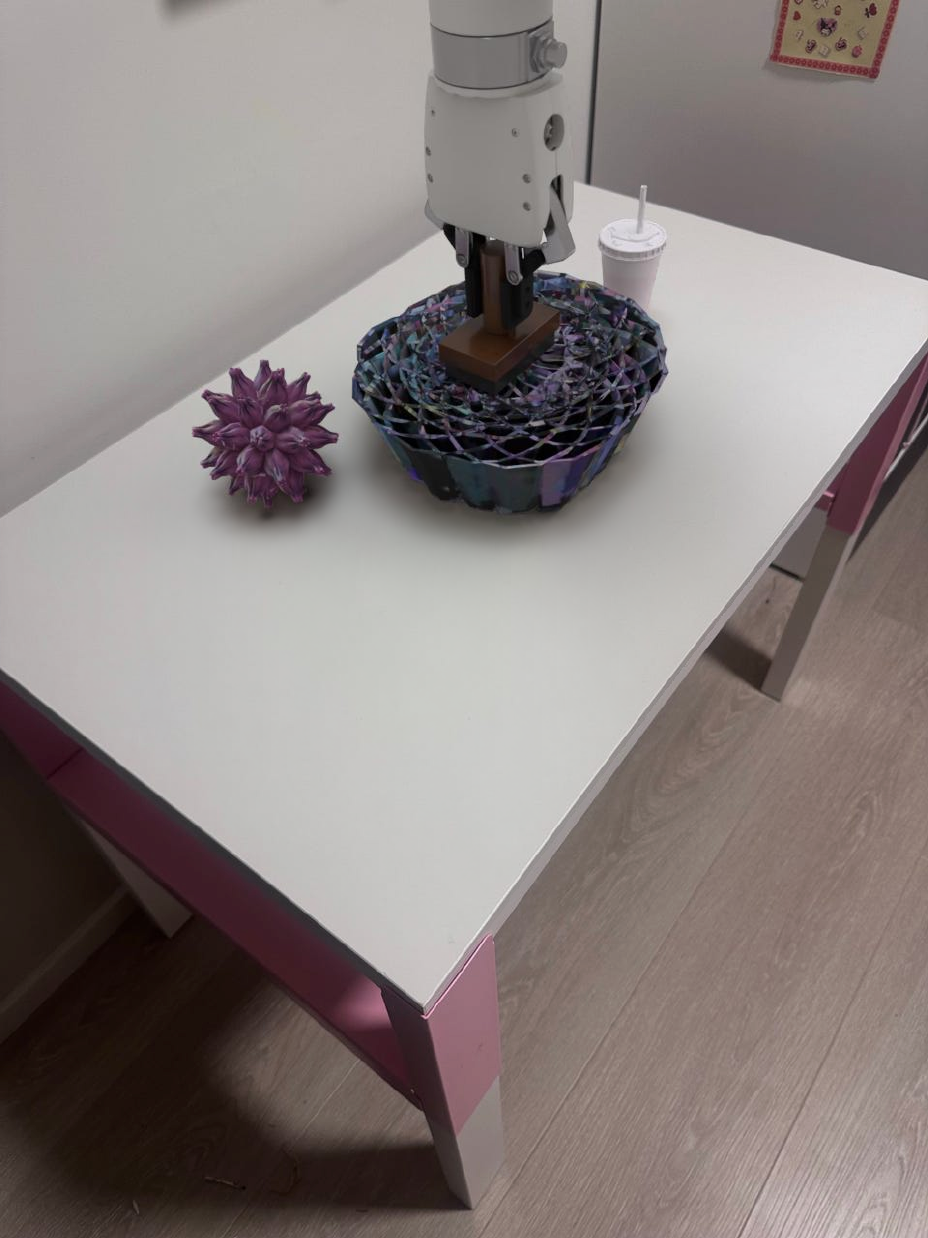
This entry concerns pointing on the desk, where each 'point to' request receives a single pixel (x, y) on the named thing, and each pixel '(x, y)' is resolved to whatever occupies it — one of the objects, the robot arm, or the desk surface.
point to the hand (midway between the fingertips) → (499, 313)
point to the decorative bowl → (512, 398)
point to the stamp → (496, 333)
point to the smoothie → (632, 255)
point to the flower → (266, 434)
